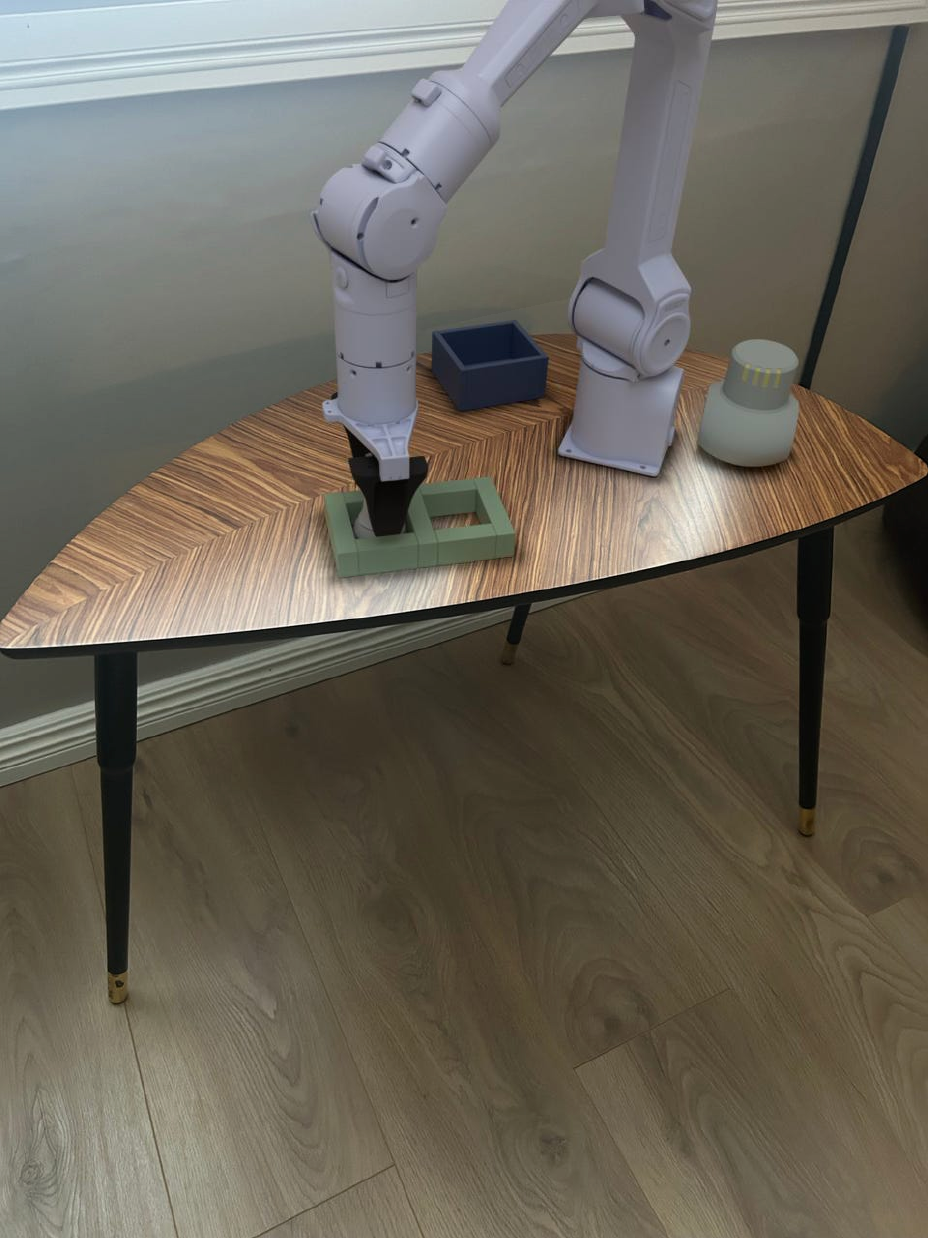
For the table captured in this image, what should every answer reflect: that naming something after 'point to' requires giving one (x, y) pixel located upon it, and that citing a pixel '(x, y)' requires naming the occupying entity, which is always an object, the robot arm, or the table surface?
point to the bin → (489, 365)
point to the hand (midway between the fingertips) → (378, 503)
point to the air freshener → (752, 406)
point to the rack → (422, 529)
